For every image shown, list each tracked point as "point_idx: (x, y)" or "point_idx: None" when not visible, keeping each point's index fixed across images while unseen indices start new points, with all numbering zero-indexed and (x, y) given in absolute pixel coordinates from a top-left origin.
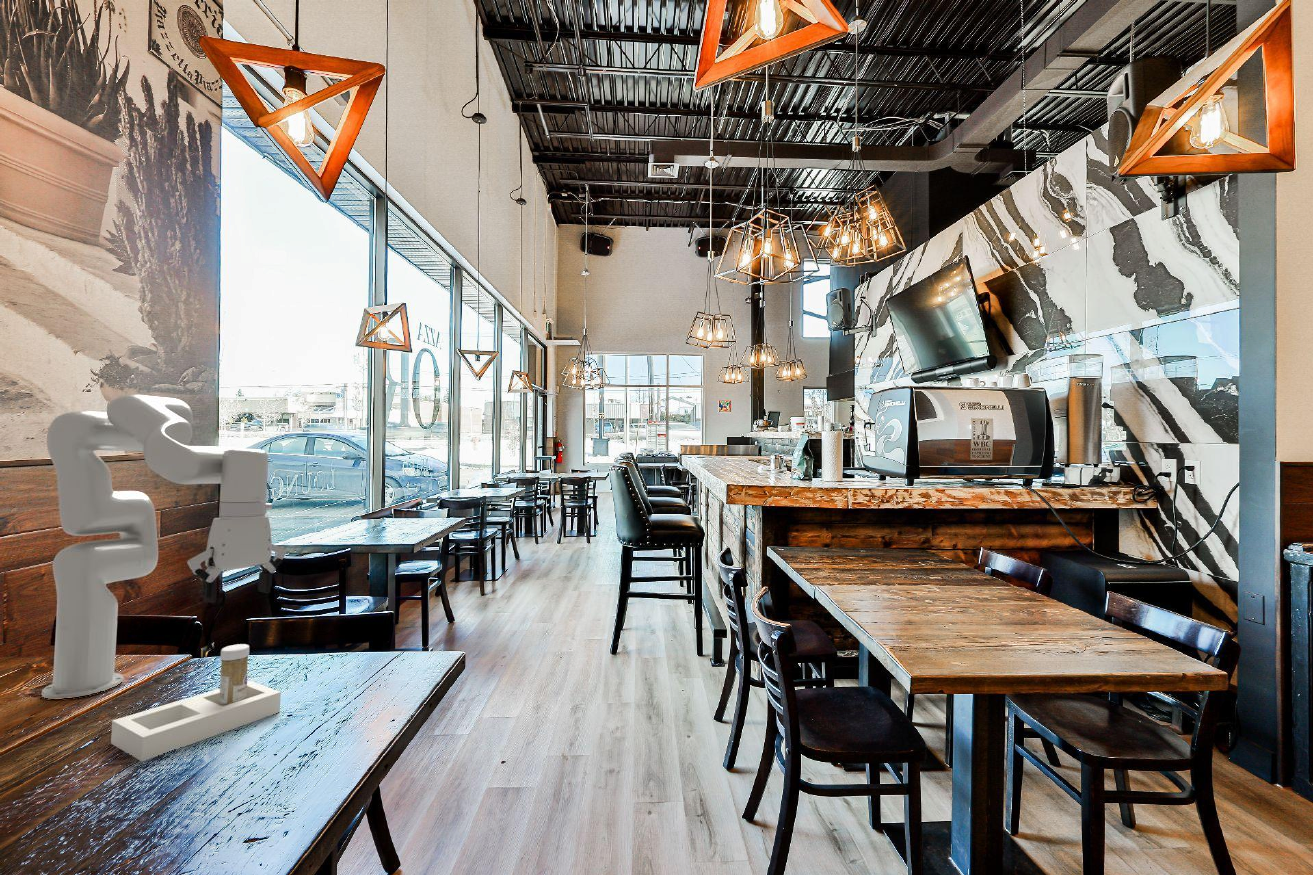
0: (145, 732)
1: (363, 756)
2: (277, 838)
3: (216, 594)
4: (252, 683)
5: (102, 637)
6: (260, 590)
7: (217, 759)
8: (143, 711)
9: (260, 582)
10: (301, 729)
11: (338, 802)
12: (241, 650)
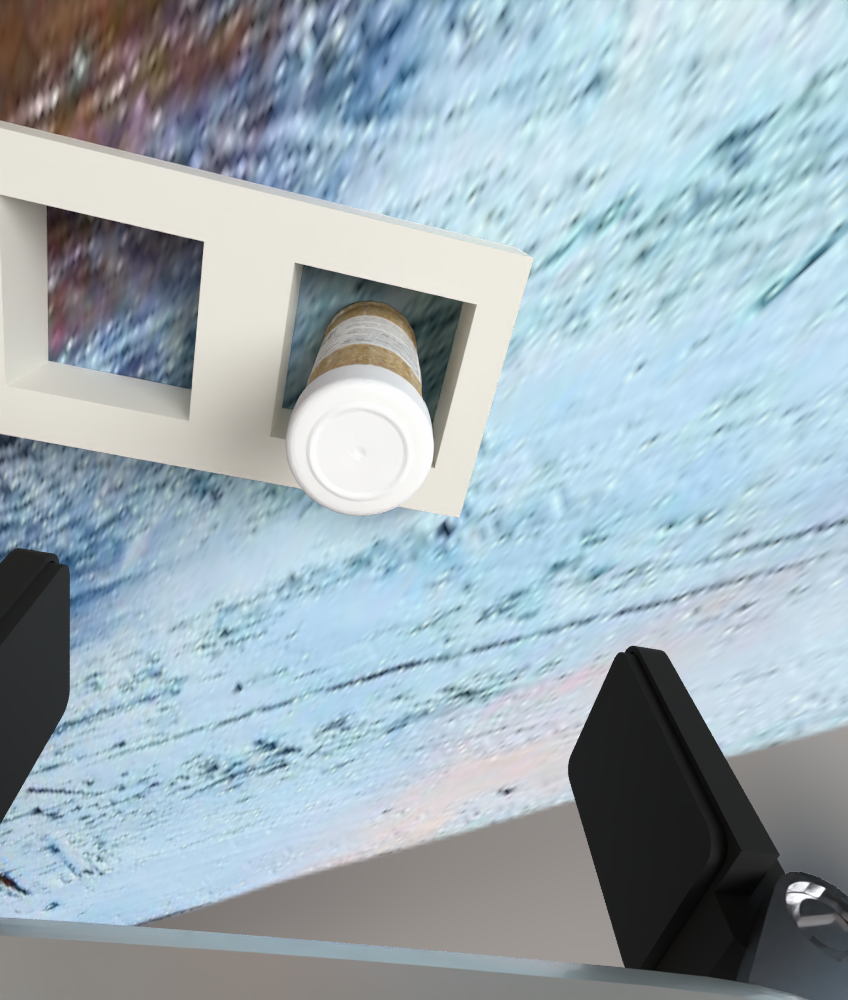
0: None
1: (320, 846)
2: (34, 906)
3: (27, 773)
4: (502, 321)
5: None
6: (606, 693)
7: (144, 584)
8: (72, 148)
9: (640, 763)
10: (376, 637)
11: (163, 911)
12: (348, 513)
